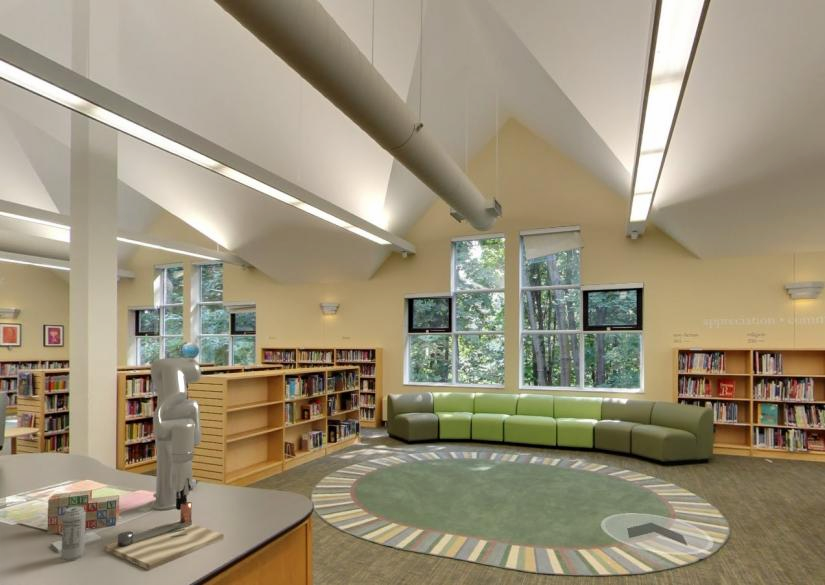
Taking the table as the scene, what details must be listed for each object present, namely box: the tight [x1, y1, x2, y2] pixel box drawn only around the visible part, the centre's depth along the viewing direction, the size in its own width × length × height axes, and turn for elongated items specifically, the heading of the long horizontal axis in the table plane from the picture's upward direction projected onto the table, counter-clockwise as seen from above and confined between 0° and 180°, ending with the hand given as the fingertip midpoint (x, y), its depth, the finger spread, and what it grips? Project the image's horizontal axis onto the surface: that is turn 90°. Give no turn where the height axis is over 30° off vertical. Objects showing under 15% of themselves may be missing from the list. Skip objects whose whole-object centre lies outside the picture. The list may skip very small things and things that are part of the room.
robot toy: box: [190, 477, 201, 490], centre depth 228 cm, size 12×4×15 cm
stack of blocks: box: [46, 489, 120, 535], centre depth 185 cm, size 21×6×12 cm, turn 111°
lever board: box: [103, 519, 225, 571], centre depth 169 cm, size 26×26×2 cm
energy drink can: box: [61, 506, 86, 562], centre depth 160 cm, size 6×6×15 cm
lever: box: [117, 501, 193, 546], centre depth 174 cm, size 24×4×8 cm, turn 139°
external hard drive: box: [50, 531, 102, 554], centre depth 171 cm, size 2×8×12 cm
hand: (181, 508), depth 184 cm, fingers closed
